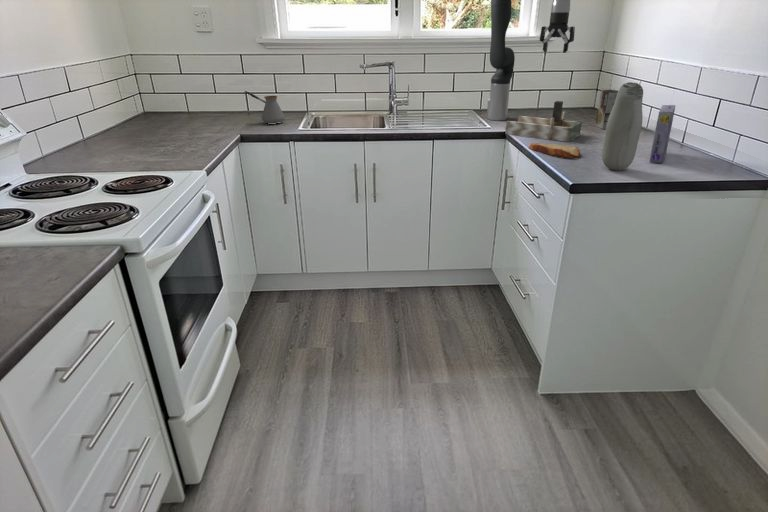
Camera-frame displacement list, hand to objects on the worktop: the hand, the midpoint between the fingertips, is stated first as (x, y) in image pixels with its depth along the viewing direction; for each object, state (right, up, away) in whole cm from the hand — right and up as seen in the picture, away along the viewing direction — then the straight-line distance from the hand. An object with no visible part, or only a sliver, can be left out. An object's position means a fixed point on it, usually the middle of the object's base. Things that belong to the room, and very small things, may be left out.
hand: (554, 52), depth 216 cm
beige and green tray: (-7, -36, -1) cm, 37 cm away
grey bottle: (+3, -61, -49) cm, 78 cm away
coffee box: (+27, -30, +10) cm, 42 cm away
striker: (-2, -35, -6) cm, 35 cm away
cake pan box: (+25, -54, -37) cm, 70 cm away
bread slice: (-11, -51, -28) cm, 59 cm away
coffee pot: (-136, -23, +32) cm, 141 cm away
